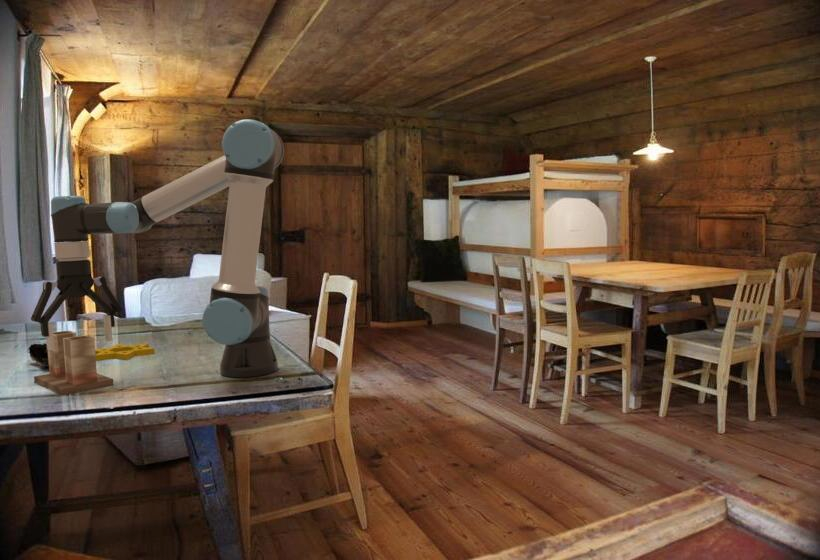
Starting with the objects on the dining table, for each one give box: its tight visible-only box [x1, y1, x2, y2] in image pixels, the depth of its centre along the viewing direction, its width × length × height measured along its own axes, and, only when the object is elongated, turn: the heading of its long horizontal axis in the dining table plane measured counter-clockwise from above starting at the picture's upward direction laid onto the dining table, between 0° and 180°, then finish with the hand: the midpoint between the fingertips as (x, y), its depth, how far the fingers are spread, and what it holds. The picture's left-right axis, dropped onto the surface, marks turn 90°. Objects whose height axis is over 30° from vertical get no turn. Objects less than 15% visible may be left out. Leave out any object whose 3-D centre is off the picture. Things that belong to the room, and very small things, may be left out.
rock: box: [27, 342, 49, 367], centre depth 187 cm, size 18×10×15 cm
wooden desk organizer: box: [33, 330, 114, 396], centre depth 162 cm, size 20×12×12 cm, turn 47°
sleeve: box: [63, 334, 98, 385], centre depth 158 cm, size 5×5×11 cm
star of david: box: [95, 343, 156, 362], centre depth 198 cm, size 20×17×2 cm
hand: (80, 345), depth 158 cm, fingers open, 13 cm apart
